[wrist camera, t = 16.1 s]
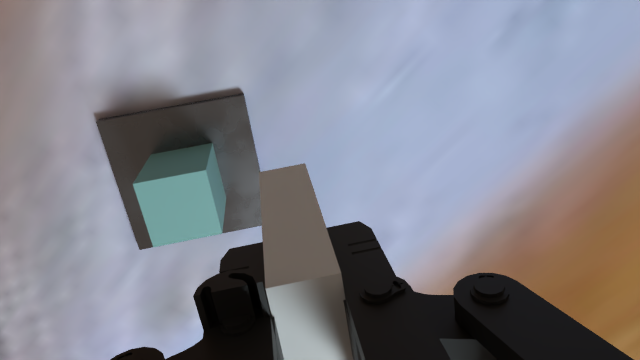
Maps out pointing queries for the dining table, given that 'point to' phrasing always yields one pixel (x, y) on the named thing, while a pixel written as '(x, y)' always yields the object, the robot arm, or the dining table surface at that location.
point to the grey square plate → (182, 132)
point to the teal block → (181, 195)
